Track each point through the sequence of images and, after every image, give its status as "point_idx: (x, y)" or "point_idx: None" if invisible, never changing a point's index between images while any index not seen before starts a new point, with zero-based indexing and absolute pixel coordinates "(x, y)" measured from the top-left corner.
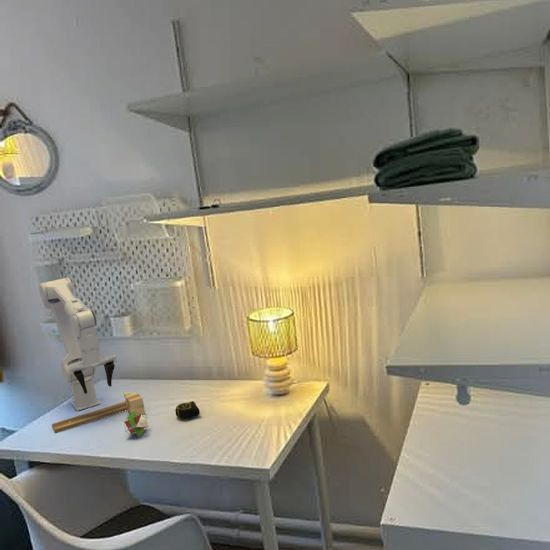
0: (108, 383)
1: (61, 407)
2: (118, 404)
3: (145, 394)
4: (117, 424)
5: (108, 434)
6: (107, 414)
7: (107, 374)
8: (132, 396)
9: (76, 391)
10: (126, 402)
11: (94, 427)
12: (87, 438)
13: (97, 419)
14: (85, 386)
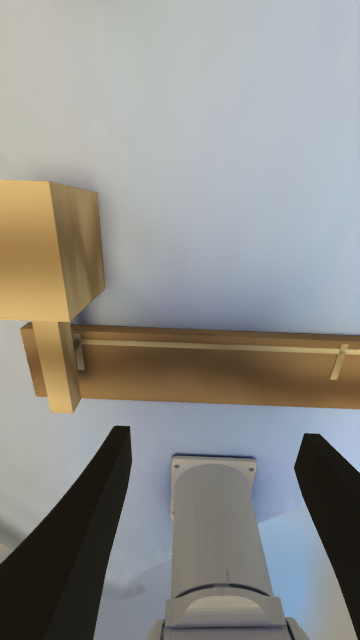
0: (125, 458)
1: (277, 514)
2: (120, 389)
3: (10, 418)
4: (178, 197)
5: (259, 87)
6: (186, 332)
7: (93, 554)
8: (20, 272)
9: (257, 545)
10: (82, 293)
11: (271, 258)
12: (356, 139)
13: (230, 331)
14: (350, 485)
